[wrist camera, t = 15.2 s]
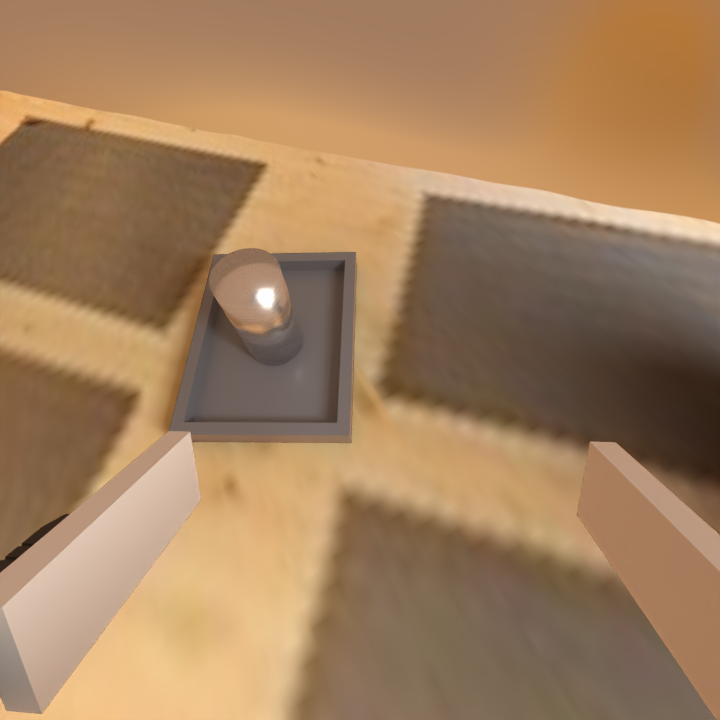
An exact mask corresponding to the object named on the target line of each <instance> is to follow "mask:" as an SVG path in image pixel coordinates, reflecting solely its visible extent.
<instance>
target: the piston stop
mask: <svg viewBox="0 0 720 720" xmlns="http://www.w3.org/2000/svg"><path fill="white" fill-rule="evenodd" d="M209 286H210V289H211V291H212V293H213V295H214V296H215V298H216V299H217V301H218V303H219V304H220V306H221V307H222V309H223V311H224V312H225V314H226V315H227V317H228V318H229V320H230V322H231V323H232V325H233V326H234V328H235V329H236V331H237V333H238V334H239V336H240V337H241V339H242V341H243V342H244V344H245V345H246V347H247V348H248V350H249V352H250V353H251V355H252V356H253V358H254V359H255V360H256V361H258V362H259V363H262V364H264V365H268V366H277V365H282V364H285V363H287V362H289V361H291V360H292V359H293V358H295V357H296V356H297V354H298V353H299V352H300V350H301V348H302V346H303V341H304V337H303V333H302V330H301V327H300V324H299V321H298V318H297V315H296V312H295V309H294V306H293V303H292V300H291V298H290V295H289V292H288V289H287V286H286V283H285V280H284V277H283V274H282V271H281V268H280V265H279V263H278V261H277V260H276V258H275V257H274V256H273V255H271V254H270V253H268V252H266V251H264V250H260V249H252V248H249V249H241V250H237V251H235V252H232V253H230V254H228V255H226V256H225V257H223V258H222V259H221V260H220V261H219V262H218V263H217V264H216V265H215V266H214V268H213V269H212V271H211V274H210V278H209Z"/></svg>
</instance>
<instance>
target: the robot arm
mask: <svg viewBox="0 0 720 720" xmlns="http://www.w3.org/2000/svg"><path fill="white" fill-rule="evenodd" d="M200 501H201V496H200V490H199V484H198V477H197V471H196V465H195V458H194V452H193V446H192V440H191V433H190V432H188V431H168V432H167V433H166V434H165V435H164V436H162V437H161V438H160V439H159V440H158V441H156V442H155V443H154V444H153V445H152V446H150V447H149V448H148V449H147V450H146V451H145V452H143V453H142V454H141V455H140V456H139V457H137V458H136V459H135V460H134V461H133V462H131V463H130V464H129V465H128V466H127V467H125V468H124V469H123V470H122V471H121V472H120V473H118V474H117V475H116V476H115V477H114V478H112V479H111V480H110V481H109V482H108V483H106V484H105V485H104V486H103V487H102V488H101V489H99V490H98V491H97V492H96V493H95V494H93V495H92V496H91V497H90V498H89V499H87V500H86V501H85V502H84V503H83V504H82V505H80V506H79V507H78V508H77V509H76V510H74V511H73V512H72V513H71V514H65V515H63V516H61V517H59V518H58V519H56V520H54V521H52V522H50V523H49V524H47V525H45V526H43V527H42V528H40V529H39V530H38V531H37V532H35V533H34V534H33V535H32V536H30V537H29V538H28V539H27V540H26V541H24V542H23V543H22V546H21V547H17V548H16V549H14V550H13V551H12V552H11V553H9V554H8V555H7V556H6V557H5V560H1V561H0V697H1V699H2V701H3V704H4V706H5V709H6V711H15V712H26V713H37V714H42V713H43V712H44V710H45V709H46V708H47V706H48V705H49V704H50V702H51V701H52V700H53V698H54V697H55V696H56V694H57V693H58V692H59V690H60V689H61V688H62V686H63V685H64V684H65V682H66V681H67V680H68V678H69V677H70V675H71V674H72V673H73V671H74V670H75V669H76V667H77V666H78V665H79V663H80V662H81V661H82V659H83V658H84V657H85V655H86V654H87V653H88V651H89V650H90V649H91V647H92V646H93V645H94V643H95V642H96V641H97V639H98V638H99V636H100V635H101V634H102V632H103V631H104V630H105V628H106V627H107V626H108V624H109V623H110V622H111V620H112V619H113V618H114V616H115V615H116V614H117V612H118V611H119V610H120V608H121V607H122V606H123V604H124V603H125V602H126V600H127V599H128V598H129V596H130V595H131V593H132V592H133V591H134V589H135V588H136V587H137V585H138V584H139V583H140V581H141V580H142V579H143V577H144V576H145V575H146V573H147V572H148V571H149V569H150V568H151V567H152V565H153V564H154V563H155V561H156V560H157V559H158V557H159V556H160V554H161V553H162V552H163V550H164V549H165V548H166V546H167V545H168V544H169V542H170V541H171V540H172V538H173V537H174V536H175V534H176V533H177V532H178V530H179V529H180V528H181V526H182V525H183V524H184V522H185V521H186V520H187V518H188V517H189V515H190V514H191V513H192V511H193V510H194V509H195V507H196V506H197V505H198V503H199V502H200ZM577 516H578V517H579V519H580V520H581V522H582V523H583V525H584V526H585V528H586V529H587V530H588V532H589V533H590V535H591V536H592V538H593V539H594V541H595V542H596V544H597V545H598V547H599V548H600V550H601V551H602V552H603V554H604V555H605V557H606V558H607V560H608V561H609V563H610V564H611V566H612V567H613V569H614V570H615V572H616V573H617V575H618V576H619V577H620V579H621V580H622V582H623V583H624V585H625V586H626V588H627V589H628V591H629V592H630V594H631V595H632V597H633V598H634V599H635V601H636V602H637V604H638V605H639V607H640V608H641V610H642V611H643V613H644V614H645V616H646V617H647V619H648V620H649V621H650V623H651V624H652V626H653V627H654V629H655V630H656V632H657V633H658V635H659V636H660V638H661V639H662V641H663V642H664V644H665V645H666V646H667V648H668V649H669V651H670V652H671V654H672V655H673V657H674V658H675V660H676V661H677V663H678V664H679V666H680V667H681V668H682V670H683V671H684V673H685V674H686V676H687V677H688V679H689V680H690V682H691V683H692V685H693V686H694V688H695V689H696V690H697V692H698V693H699V695H700V696H701V698H702V699H703V701H704V702H705V704H706V705H707V707H708V708H709V710H710V711H711V713H712V714H713V715H714V717H715V718H716V720H720V535H719V534H718V533H717V532H716V531H715V530H714V529H713V528H711V527H710V526H709V525H708V524H707V523H706V522H705V521H704V520H702V519H701V518H700V517H699V516H698V515H697V514H696V513H695V512H693V511H692V510H691V509H690V508H689V507H688V506H687V505H686V504H684V503H683V502H682V501H681V500H680V499H679V498H678V497H677V496H675V495H674V494H673V493H672V492H671V491H670V490H669V489H668V488H666V487H665V486H664V485H663V484H662V483H661V482H660V481H659V480H657V479H656V478H655V477H654V476H653V475H652V474H651V473H650V472H648V471H647V470H646V469H645V468H644V467H643V466H642V465H641V464H639V463H638V462H637V461H636V460H635V459H634V458H633V457H632V456H630V455H629V454H628V453H627V452H626V451H625V450H624V449H623V448H621V447H620V446H619V445H618V444H617V443H616V442H590V445H589V450H588V456H587V462H586V467H585V473H584V478H583V484H582V489H581V495H580V501H579V506H578V512H577Z"/></svg>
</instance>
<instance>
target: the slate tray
mask: <svg viewBox="0 0 720 720" xmlns="http://www.w3.org/2000/svg"><path fill="white" fill-rule="evenodd" d="M226 255H228V254H218V255H214V256H213V260H212V264H211V268H210V272H209V275H208V279H207V283H206V287H205V291H204V295H203V299H202V303H201V307H200V311H199V315H198V319H197V323H196V327H195V330H194V334H193V338H192V342H191V346H190V350H189V354H188V358H187V362H186V366H185V370H184V374H183V378H182V382H181V385H180V389H179V393H178V397H177V401H176V405H175V409H174V413H173V417H172V421H171V425H170V429H169V431H188V432H190V433H191V440H192V442H297V443H351V442H352V408H353V375H354V342H355V309H356V275H357V263H356V252H336V253H277V254H271V255H273V256H274V257H275V258H276V260H277V261H278V263H279V265H280V268H281V271H282V274H283V277H284V280H285V283H286V286H287V289H288V292H289V295H290V298H291V300H292V303H293V306H294V309H295V312H296V315H297V318H298V321H299V324H300V327H301V330H302V333H303V337H304V341H303V346H302V348H301V350H300V352H299V353H298V354H297V356H296V357H295V358H293V359H292V360H291V361H289V362H287V363H285V364H282V365H277V366H268V365H264V364H262V363H259V362H258V361H256V360H255V359H254V358H253V356H252V355H251V353H250V352H249V350H248V348H247V347H246V345H245V344H244V342H243V341H242V339H241V337H240V336H239V334H238V333H237V331H236V329H235V328H234V326H233V325H232V323H231V322H230V320H229V318H228V317H227V315H226V314H225V312H224V311H223V309H222V307H221V306H220V304H219V303H218V301H217V299H216V298H215V296H214V295H213V293H212V291H211V289H210V286H209V278H210V274H211V271H212V269H213V268H214V266H215V265H216V264H217V263H218V262H219V261H220V260H221V259H222V258H223V257H225V256H226Z"/></svg>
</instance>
